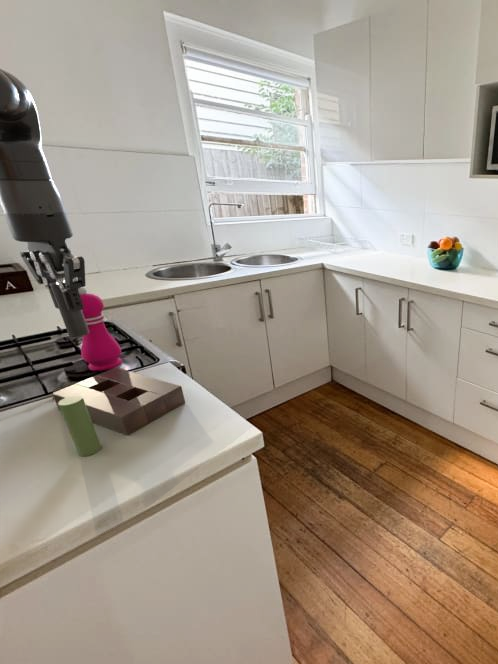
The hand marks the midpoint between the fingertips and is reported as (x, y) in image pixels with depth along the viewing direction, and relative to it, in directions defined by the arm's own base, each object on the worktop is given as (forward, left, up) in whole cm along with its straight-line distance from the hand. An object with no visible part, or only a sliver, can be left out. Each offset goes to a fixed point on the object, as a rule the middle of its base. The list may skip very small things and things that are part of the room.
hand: (70, 308), depth 69 cm
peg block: (+5, 0, -20) cm, 21 cm away
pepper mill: (-14, +9, -20) cm, 26 cm away
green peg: (+13, -11, -20) cm, 26 cm away
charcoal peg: (0, 0, -5) cm, 5 cm away
